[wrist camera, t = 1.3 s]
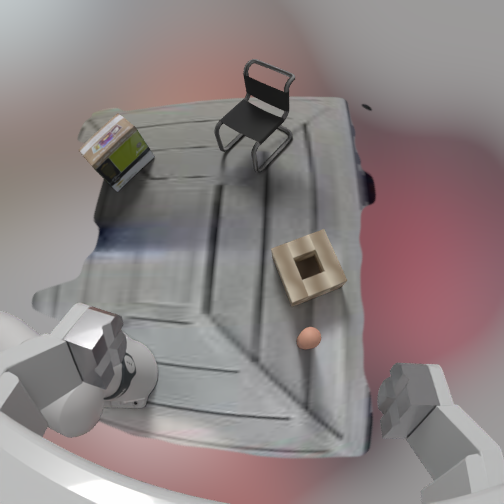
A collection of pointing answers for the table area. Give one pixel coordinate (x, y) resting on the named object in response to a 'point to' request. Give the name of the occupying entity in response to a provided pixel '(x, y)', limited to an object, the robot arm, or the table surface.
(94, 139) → the tea box
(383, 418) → the robot arm
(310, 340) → the dowel
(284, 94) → the chair
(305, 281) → the socket block
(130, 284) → the table surface
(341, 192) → the table surface
